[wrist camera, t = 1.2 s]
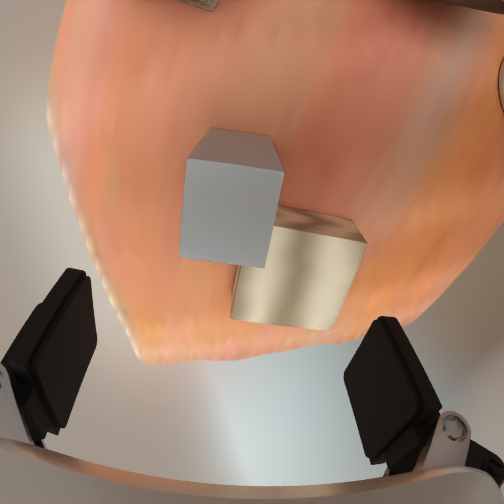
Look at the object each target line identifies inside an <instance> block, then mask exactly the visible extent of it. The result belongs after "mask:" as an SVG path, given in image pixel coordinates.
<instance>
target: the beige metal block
mask: <svg viewBox="0 0 504 504" xmlns="http://www.w3.org/2000/svg"><path fill="white" fill-rule="evenodd" d="M367 244H368V243H367V242H366V240H365V239H364V237H363V236H362V234H361V233H360V231H359V230H358V229H357V227H356V226H355V224H354V223H353V221H352V220H349V219H344V218H339V217H334V216H330V215H325V214H320V213H315V212H310V211H305V210H300V209H295V208H289V207H284V206H279V205H278V208H277V212H276V217H275V222H274V226H273V231H272V236H271V241H270V245H269V250H268V255H267V259H266V264H265V268H257V267H249V266H241V265H237V266H236V271H235V276H234V281H233V286H232V297H231V316H230V319H234V320H241V321H249V322H256V323H264V324H272V325H280V326H289V327H298V328H307V329H317V330H327V331H331V329H332V326H333V324H334V322H335V320H336V318H337V315H338V313H339V311H340V309H341V307H342V304H343V302H344V300H345V297H346V295H347V293H348V290H349V288H350V286H351V283H352V281H353V279H354V276H355V274H356V271H357V269H358V266H359V264H360V262H361V259H362V257H363V254H364V251H365V249H366V246H367Z"/></svg>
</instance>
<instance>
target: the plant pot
mask: <svg viewBox="0 0 504 504" xmlns="http://www.w3.org/2000/svg"><path fill="white" fill-rule="evenodd" d="M437 1H441V2H445V3H449V4H453V5H457V6H462V7H467V8H471V9H477V10H482V11H487V12H492V13H498V14H504V0H437Z"/></svg>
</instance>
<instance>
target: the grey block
mask: <svg viewBox="0 0 504 504" xmlns="http://www.w3.org/2000/svg"><path fill="white" fill-rule="evenodd" d="M284 174H285V171H284V169H283V167H282V164H281V162H280V160H279V157H278V155H277V153H276V150H275V148H274V146H273V143H272V141H271V139H270V136H265V135H259V134H253V133H246V132H240V131H232V130H225V129H217V128H210V130H209V131H208V132H207V133H206V135H205V136H204V137H203V138H202V140H201V141H200V142H199V144H198V145H197V146H196V147H195V149H194V150H193V151H192V153H191V154H190V155H189V157H188V158H187V165H186V175H185V186H184V197H183V209H182V222H181V236H180V253H179V257H182V258H189V259H196V260H204V261H211V262H219V263H226V264H234V265H241V266H249V267H257V268H265V264H266V259H267V255H268V250H269V245H270V241H271V236H272V231H273V226H274V222H275V217H276V212H277V208H278V203H279V198H280V193H281V188H282V184H283V179H284Z"/></svg>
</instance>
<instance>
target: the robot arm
mask: <svg viewBox="0 0 504 504" xmlns="http://www.w3.org/2000/svg"><path fill="white" fill-rule="evenodd" d="M499 93H500V98H501V103H502V107H503V110H504V60H503V63H502V65H501V69H500V74H499ZM96 345H97V333H96V326H95V317H94V309H93V300H92V289H91V279H90V277H89V276H86V273H85V271H83V270H77V269H73V268H67V269H66V270H65V272H64V273H63V274H62V276H61V277H60V278H59V280H58V281H57V282H56V284H55V285H54V287H53V288H52V289H51V291H50V292H49V294H48V295H47V296H46V298H45V299H44V301H43V302H42V303H40V304H38V305H37V306H36V308H35V309H34V310H33V312H32V313H31V315H30V317H29V318H28V320H27V321H26V322H25V324H24V326H23V327H22V329H21V330H20V332H19V333H18V335H17V336H16V338H15V340H14V341H13V343H12V345H11V346H10V348H9V350H8V351H7V353H6V354H5V356H4V358H3V360H2V361H1V363H0V504H504V463H503V462H502V460H501V459H500V458H499V457H498V456H497V455H496V454H494V453H492V452H491V451H489V450H487V449H486V448H484V447H482V446H481V445H479V444H477V443H476V442H474V441H473V440H471V439H470V438H471V430H470V426H469V424H468V423H467V421H466V420H465V419H464V417H462V416H461V415H460V414H458V413H456V412H453V411H447V412H444V413H443V414H442V415H440V413H439V410H440V409H441V408H442V405H441V403H440V401H439V399H438V397H437V395H436V392H435V390H434V388H433V386H432V384H431V382H430V380H429V378H428V376H427V374H426V372H425V370H424V368H423V366H422V364H421V363H420V361H419V359H418V357H417V355H416V353H415V351H414V349H413V347H412V345H411V344H410V342H409V340H408V338H407V336H406V334H405V332H404V331H403V329H402V327H401V325H400V323H399V322H398V320H397V319H396V318H395V317H387V316H380V317H378V319H377V320H374V321H373V322H372V324H371V326H370V328H369V330H368V332H367V333H366V335H365V337H364V339H363V341H362V342H361V344H360V346H359V348H358V349H357V351H356V353H355V355H354V356H353V358H352V360H351V361H350V363H349V365H348V367H347V368H346V370H345V372H344V382H345V385H346V389H347V392H348V396H349V399H350V402H351V406H352V409H353V413H354V416H355V420H356V423H357V427H358V431H359V434H360V438H361V441H362V445H363V449H364V452H365V455H366V457H368V458H369V459H370V463H371V465H375V464H382V463H385V462H386V464H387V469H386V471H385V473H384V475H383V477H379V478H373V479H367V480H359V481H352V482H343V483H333V484H321V485H305V486H270V487H269V486H265V487H264V486H233V485H219V484H207V483H198V482H189V481H181V480H174V479H167V478H161V477H155V476H149V475H144V474H139V473H134V472H129V471H124V470H120V469H116V468H112V467H107V466H103V465H99V464H95V463H91V462H87V461H84V460H81V459H77V458H74V457H71V456H67V455H64V454H61V453H58V452H55V451H51V450H48V449H47V448H46V445H45V443H44V441H43V439H44V438H45V436H46V434H47V432H49V433H52V434H55V435H58V434H59V431H60V428H65V427H66V425H67V422H68V419H69V416H70V413H71V411H72V408H73V405H74V402H75V399H76V397H77V394H78V391H79V388H80V386H81V383H82V381H83V378H84V375H85V373H86V371H87V368H88V365H89V363H90V360H91V358H92V355H93V353H94V351H95V348H96Z"/></svg>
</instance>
